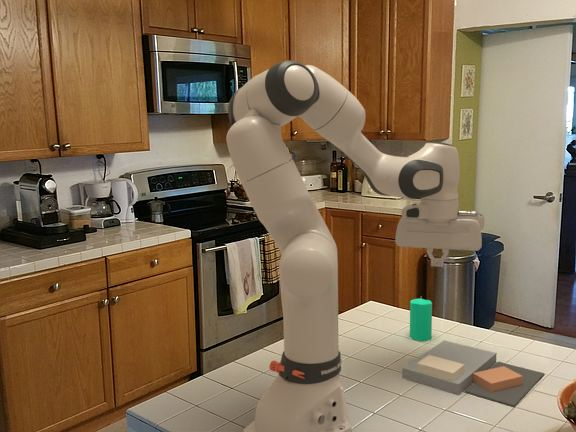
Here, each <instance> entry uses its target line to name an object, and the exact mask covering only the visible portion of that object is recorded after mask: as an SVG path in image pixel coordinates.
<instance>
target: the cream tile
mask: <svg viewBox="0 0 576 432" xmlns="http://www.w3.org/2000/svg"><path fill="white" fill-rule="evenodd" d="M417 371H418V372H422V373H425V374H428V375H432V376H435V377H439V378H442V379H446V380H449V381H455V380H456V379H457V378H458V377H460V376H461V375H462V374H463V373H465V364H461V363H458V362H454V361H450V360H446V359H443V358H439V357H435V356H431V355H428V356H427V357H425V358H424V359H422V360H421V361H419V362H418V363H417Z"/></svg>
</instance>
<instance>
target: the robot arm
mask: <svg viewBox="0 0 576 432" xmlns="http://www.w3.org/2000/svg"><path fill="white" fill-rule="evenodd" d="M227 112H228V113H227V114H228V119H229V122H230V128H229V129H228V131H227V134H226V137H225V138H226V139H225V141H226V144H227V149H228V152H229V156H230V159H231V163H232V165H233V166H234V167H233V168H234V170H235V172H236V176H238V178H239V182H240V183H241V186H242V188H243V191H244V192H245V194H246V195H247V198H248V200H249V202H250V204H251V206H252V208H253V211H254V212H255V214H256V216H257V218H258V220H259V222H260V223H261V224H262V225H263V226H264V228H265V230H266V231H267V232H268V234H269V235H270V236H271V238H272V240H273V242H274V243H275V245H276V247H277V248H278V250H279V252H280V257H279V263H278V273H279V286H280V301H281V307H282V309H281V310H282V318H283V320H282V321H283V349H284V350H283V351H282V353H281V359H280V361H279V362H278V361H276V360H271V362H270V364H269V370H270V371H271V372H275V373H277V376H276V377H275V379H274V380H272V383H271V384H270V385H269V387H268V388H267V390H265V393H264V394H263V396H262V397H261V398H260V399H259V400H258V403H256V408H255V414H254V420H253V421H251V422H250V423H249V424H248V425H247V426H245V427H244V429H243V430H242V432H352V430H353V429H352V424H351V423H350V421H349V420H348V413H347V412H348V411H347V404H346V403H347V402H346V395H345V388H344V385H343V383H342V380H341V379H342V378H341V375H340V374H341V372H342V357H341V356H342V355H341V351H340V350H339V349H340V348H339V270H338V269H339V262H338V259H339V258H338V247H337V243H336V241H335V239H334V238H333V235H332V234H331V232H330V230H329V228H328V226H327V224H326V222H325V220H324V218H323V216H322V215H321V213H320V211H319V209H318V207H317V205H316V204H315V202H314V200H313V198H312V196H311V194H310V192H309V191H308V188H307V186H306V185H305V181H304V180H303V178H302V176H301V174H300V171H299V169H298V167H297V166H296V163H295V161H294V159H293V157H292V154H291V152H290V150H289V149H288V147H287V146H286V143H285V141H284V140H283V136H282V127H283V126H285V125H287V124H289V123H290V122H292V121H293V120H294V119H296V118H297V117H298V118H300V119H302V120H303V122H304V123H306V124H307V125H308V126H309V127H310V128H311V129H313V130H314V131H315V132H316V133H317V134H318V135H320V137H322V138H324V139H325V140H327V141H328V142H330V143H331V144H332V145H334V146H335V147H336V148H337V149H338V150H339V151H340V152H341V153H342V154H343V155H344V156H345V157H346V158H348V159H349V160H350V161H351V162H352V163H353V164H354V165H355V166H356V167H357V168H358V169H359V170H360V172H362V174H363V175H364V178H365V179H366V181H367V184H368V185H369V188H370V189H371V190H372V191H373V192H374V193H376V194H378V195H380V196H385V197H386V196H388V197H390V196H391V197H396V198H401V199H407V200H419V199H420V201H419V202H415V203H412V204H409V205H406V206H404V207H402V209H401V218H400V220H399V221H398V223H397V227H396V231H395V242H394V243H395V244H396V246H398V247H400V248H401V247H402V248H418V249H419V248H420V249H422V248H423V249H426V254H427V256H428V257H429V260H430V266H431V267H438V268H444V261H445V259H446V258H447V256H448V255H449V252H450V250H452V251H453V250H456V251H457V250H458V251H472V252H473V251H476V252H478V251H480V249H482V245H483V243H482V241H483V240H482V238H483V237H482V230H483V228H484V227H485V217H484V216H483V214H481V213H480V212H478V211H475V210H474V211H473V210H472V211H468V210H459V201H460V200H459V193H458V186H459V182H460V174H461V173H460V168H461V167H460V156H459V152H458V151H459V150H458V149H457V147H456V146H454V145H453V144H450V143H445V142H438V141H429V142H426V143H425V144H424V145H423V146H422V147H421V148H420V149H418V151H416V152H414V153H413V154H410V155H407V156H396V155H392V154H386V153H384V152H381V151H380V150H379V149H378V148H377V146H375V145H374V144H373V143H372V142H370V140H369V139H368V138H367V137H366V136H365V135H364V134H363V133H362V131H363V129H364V126H365V123H366V109H365V108H364V107H363V105H362V103H361V102H360V101H359V99H358V98H357V97H356V96H355V95H354V94H353V93H352V92H351V91H350V90H348V89H347V88H346V87H345V86H344V85H343V84H342V83H340V82H339V81H338V80H337V79H335V78H334V77H333V76H331V75H329V73H326V72H325V71H324V70H322V69H320V68H319V67H317V66H315V65H311V64H306V65H305V64H302V63H301V62H300V61H299V62H298V61H295V60H284V61H280V62H277V63H275V64H273V65H271V67H270V68H268V69H266V70H265V71H262V72H261V73H259V74H256V75H254V76H252V77H251V78H250V79H249V80H248V81H247V82H246V83H245V84H243V86H241V87H239V88H238V89H237V90H236V91H235V92H234V94H233V95H232V96H231V98H230V100H229V102H228V105H227ZM434 249H435V250H436V249H437V250H438V249H440V250H442V256H441V258H440V257H439V258H438V257H434V255H433V252H434Z"/></svg>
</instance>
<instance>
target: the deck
mask: <svg viewBox="0 0 576 432" xmlns="http://www.w3.org/2000/svg"><path fill="white" fill-rule="evenodd" d="M428 355H431V356H435V357H439V358H443V359H446V360H450V361H454V362H458V363H461V364H465V373H463V374H462V375H461V376H460V377H458V378H457V379H456V380H455V381H449V380H446V379H442V378H439V377H435V376H432V375H428V374H425V373H422V372H418V371H417V363H418V362H419V361H421V360H422V359H424V358H425V357H427V356H428ZM497 355H498V353H497V352H493V351H489V350H486V349H481V348H477V347H473V346H469V345H464V344H460V343H456V342H452V341H448V340H443V341H441V342H440V343H438V344H436V345H435V346H433V347H432V348H431V349H429V350H428V351H425V353H423V354H421V355H420V356H419V357H417V358H415V359H414V360H412V361H411V362H409V363H408V364H406V365H404V366H403V367H402V371H401V372H402V373H401V374H402V375H401V377H402V379H404V378H405V379H404V380H408V381H411V382H414V381H415V383H418V384H421V385H424V386H427V385H428V386H427V387H431V388H435V389H437V390H441V391H444V392H448V393H451V394H454V395H457V396H459V395H460V394H462V393H463V392H464V390H466V389H467V388H468V387H469V386H470V385H472V384H473V383H474V382H473V373H476V372H480V371H484V370H489V369H490V368H491V367H493V366H494V365H495V364H496V363H497Z"/></svg>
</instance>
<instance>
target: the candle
mask: <svg viewBox="0 0 576 432" xmlns="http://www.w3.org/2000/svg"><path fill="white" fill-rule="evenodd" d="M432 319H433V302H432V301H431V300H429V299H424V298H421V297H420V298H414V299H412V300H410V303H409V338H410V337H411V338H412V339H414V340H413V341H415V340H418V341H417V342H428V340H429V341H431V340H432V336H433V335H432V333H433V331H432V327H433V320H432ZM411 338H410V339H411ZM412 339H411V340H412Z"/></svg>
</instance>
